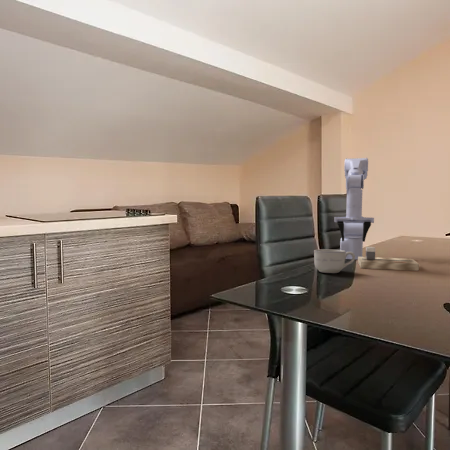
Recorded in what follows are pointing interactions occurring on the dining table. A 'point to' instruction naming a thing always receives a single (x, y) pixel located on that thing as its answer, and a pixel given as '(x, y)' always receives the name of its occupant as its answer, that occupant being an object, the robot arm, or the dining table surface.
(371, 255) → the fader
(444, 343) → the dining table surface
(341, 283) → the dining table surface
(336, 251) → the teacup
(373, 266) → the console
